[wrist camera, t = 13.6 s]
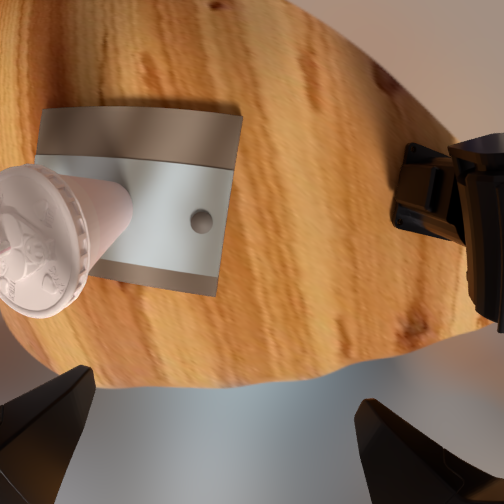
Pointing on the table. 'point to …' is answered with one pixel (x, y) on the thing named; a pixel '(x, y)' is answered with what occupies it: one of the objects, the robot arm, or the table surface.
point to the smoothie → (54, 235)
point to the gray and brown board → (153, 186)
